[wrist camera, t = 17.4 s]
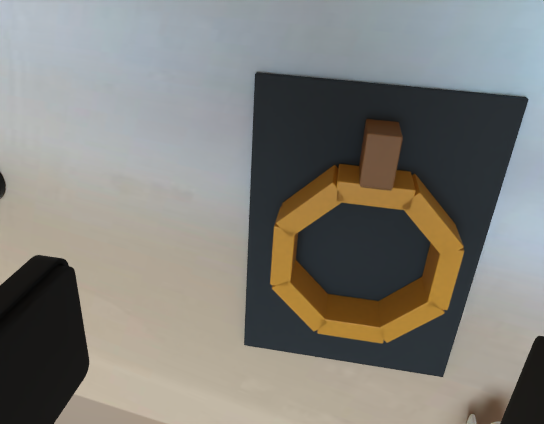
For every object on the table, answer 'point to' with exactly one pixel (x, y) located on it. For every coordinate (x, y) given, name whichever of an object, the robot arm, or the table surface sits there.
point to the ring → (379, 193)
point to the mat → (368, 219)
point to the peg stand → (2, 186)
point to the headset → (472, 420)
